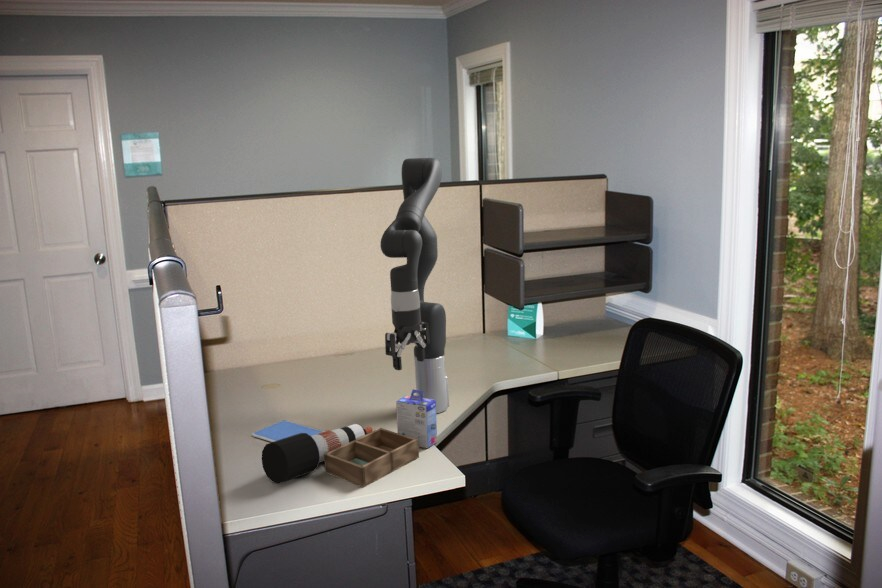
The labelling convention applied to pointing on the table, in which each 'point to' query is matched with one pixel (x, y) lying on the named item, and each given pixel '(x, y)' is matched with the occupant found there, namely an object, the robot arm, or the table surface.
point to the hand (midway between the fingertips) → (409, 365)
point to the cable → (305, 451)
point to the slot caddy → (371, 456)
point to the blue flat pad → (283, 431)
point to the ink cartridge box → (417, 418)
